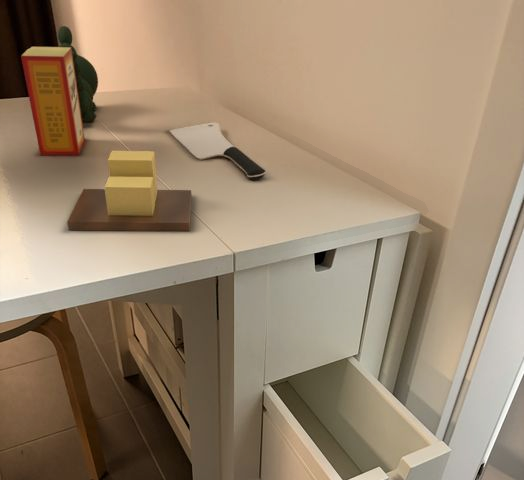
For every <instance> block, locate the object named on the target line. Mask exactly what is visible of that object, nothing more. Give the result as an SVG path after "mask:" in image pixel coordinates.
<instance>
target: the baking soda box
mask: <svg viewBox="0 0 524 480" xmlns="http://www.w3.org/2000/svg"><path fill="white" fill-rule="evenodd" d="M20 60H21V64H22V69H23V74H24V78H25V79H24V80H25V83H26V89H27V93H28V99H29V104H30V109H31V115H32V121H33V125H34V131H35V135H36V139H37V145H38V149H39V154H40V156H79V155H80V153H81V150H82V149H83V145H84V143H85V139H86V138H85V131H84V124H83V120H82V117H81V110H80V104H79V97H78V90H77V83H76V76H75V70H74V63H73V56H72V49H71V47H59V46H31V47H30V48H28V49H26V50H25V51H24V52H23V53H22V54H21V56H20Z"/></svg>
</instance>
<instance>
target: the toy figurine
mask: <svg viewBox="0 0 524 480" xmlns="http://www.w3.org/2000/svg"><path fill="white" fill-rule="evenodd" d="M57 39H58V41H59V43H60V45H58V47H71V49H72V56H73V63H74V70H75V76H76V83H77V90H78V97H79V104H80V110H81V117H82V121H84V122H85V123H86V122H94V120H96V117H97V115H96V111H97V108H98V107H97V105H96V102H95V101H94V96H95V94H96V93H97V91H98V86H99V77H98V73H97V70H96V69H95V66H93V64H92V62H90V61H89V60H88V59H87V58H85V57H84V56H82V55H79V54H78V53H77V50H76V48H75V47H74V46H73V45H72V44H73V34H72V30H71V29H70V28H69V27H68V26H66V25H61V26H60V27H59V29H58V30H57Z"/></svg>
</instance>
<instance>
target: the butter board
mask: <svg viewBox="0 0 524 480" xmlns="http://www.w3.org/2000/svg"><path fill="white" fill-rule="evenodd" d="M191 210H192V190H191V189H157V196H156V201H155V208H154V213H153V216H116V215H108V210H107V202H106V194H105V188H83V189H82V191H81V193H80V195H79V197H78V198H77V201H76V203H75V205H74V207H73V209H72V210H71V213H70V215H69V217H68V219H67V221H66V225H67V229H68V231H130V232H131V231H132V232H133V231H140V232H142V231H143V232H145V231H147V232H149V231H150V232H152V231H153V232H156V231H158V232H161V231H162V232H163V231H164V232H167V231H169V232H190V227H191V213H192V211H191Z"/></svg>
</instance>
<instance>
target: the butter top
mask: <svg viewBox="0 0 524 480" xmlns="http://www.w3.org/2000/svg"><path fill="white" fill-rule="evenodd" d="M104 189H105V194H106V202H107V210H108V215H116V216H153V213H154V208H155V196H154V183H153V177H110V175H109V176H108V178H107V180H106V183H105V185H104Z"/></svg>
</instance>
